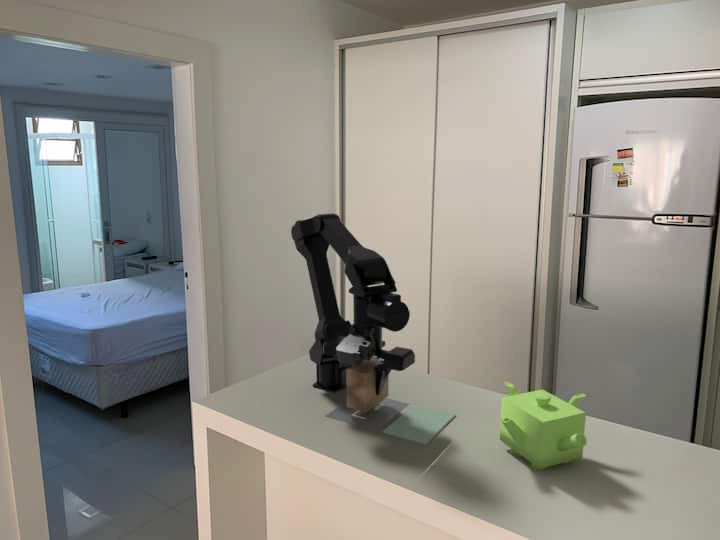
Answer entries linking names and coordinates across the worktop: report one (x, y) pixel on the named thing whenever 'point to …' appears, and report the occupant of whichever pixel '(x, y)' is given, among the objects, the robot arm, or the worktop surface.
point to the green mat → (419, 424)
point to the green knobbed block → (542, 427)
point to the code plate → (368, 414)
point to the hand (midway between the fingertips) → (367, 391)
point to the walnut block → (364, 386)
